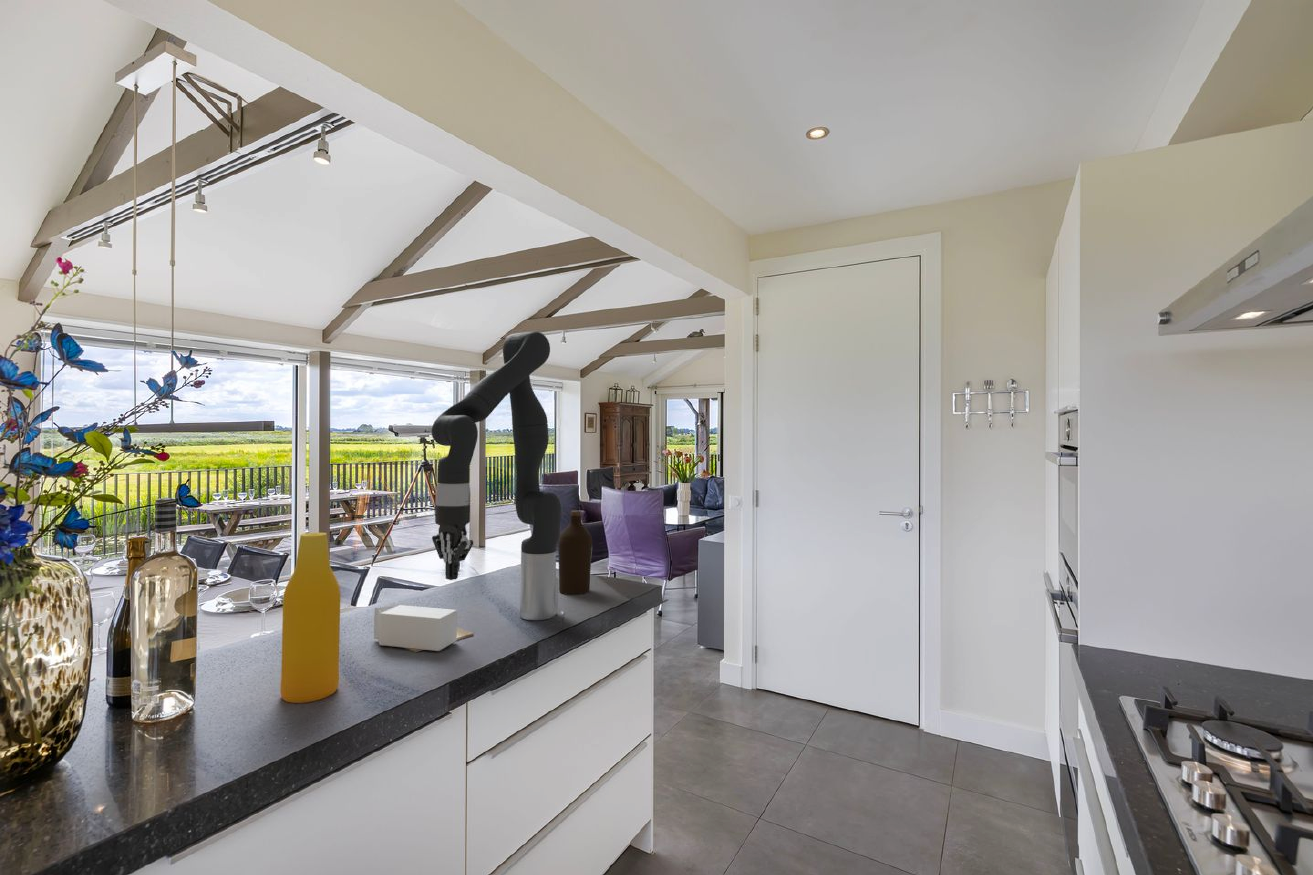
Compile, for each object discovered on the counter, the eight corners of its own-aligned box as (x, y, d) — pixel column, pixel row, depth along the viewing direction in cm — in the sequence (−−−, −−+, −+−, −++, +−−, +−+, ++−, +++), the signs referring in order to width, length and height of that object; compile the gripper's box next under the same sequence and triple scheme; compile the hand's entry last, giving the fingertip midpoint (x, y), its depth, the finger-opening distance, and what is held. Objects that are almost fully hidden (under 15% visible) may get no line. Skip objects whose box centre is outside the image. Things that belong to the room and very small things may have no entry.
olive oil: (566, 597, 178) (567, 513, 178) (551, 589, 187) (553, 510, 187) (597, 592, 184) (599, 511, 184) (581, 585, 193) (583, 508, 193)
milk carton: (440, 618, 129) (364, 611, 133) (439, 651, 129) (363, 643, 133) (458, 609, 136) (384, 603, 140) (457, 640, 136) (384, 633, 140)
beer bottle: (267, 701, 105) (271, 537, 105) (306, 680, 114) (310, 529, 114) (313, 706, 103) (317, 539, 103) (349, 685, 112) (353, 531, 112)
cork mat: (441, 624, 150) (442, 622, 150) (473, 635, 142) (473, 633, 142) (384, 639, 138) (384, 637, 138) (415, 652, 130) (415, 650, 130)
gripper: (485, 503, 134) (483, 580, 134) (450, 499, 142) (448, 572, 142) (456, 506, 128) (454, 586, 128) (421, 501, 136) (420, 577, 136)
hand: (451, 578), depth 135 cm, fingers closed
